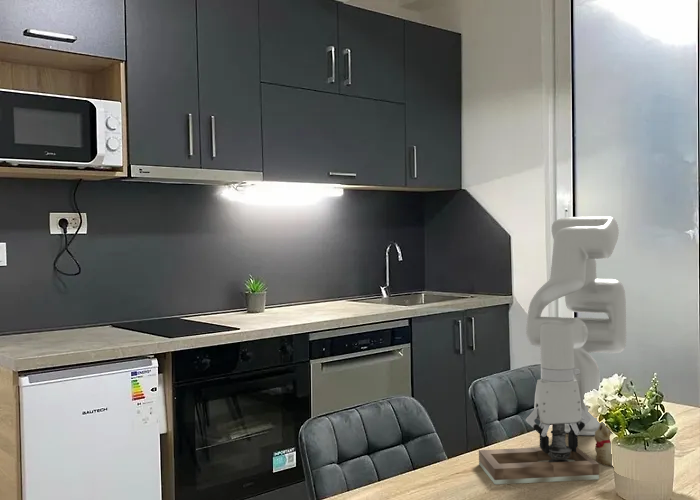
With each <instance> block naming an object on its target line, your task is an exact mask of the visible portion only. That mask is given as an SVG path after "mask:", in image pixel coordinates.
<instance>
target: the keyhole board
mask: <svg viewBox="0 0 700 500" xmlns="http://www.w3.org/2000/svg"><path fill="white" fill-rule="evenodd" d="M551 459H552V458H551V457H550V456H549V455H548V453H547V454H546V453H545V452H544V451H542V449H541V448H540V446H539V447H517V448H499V449H494V448H493V449H479V450H478V464H479V466H480V467H481V469H482V470H483V472H484V473H485V474H486V475H487V477H488V478H489V479H490V480H491V482H492V483H493V484H494V485H510V484H511V485H513V484H528V483H529V484H531V483H532V484H533V483H552V482H570V481H571V482H572V481H590V480H591V481H592V480H600V463H599V462H598V461H597V460H595V459H594V458H592V457H591V456H589V455H588V454H586V453H585V452H584V451H583V450H581V449H580V448H579V447H576V452H573V451H571V454H570V456H569V458H568V459H566V460H568V461H569V462H551V463H550V462H548V461H549V460H551Z"/></svg>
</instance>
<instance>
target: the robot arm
mask: <svg viewBox="0 0 700 500" xmlns="http://www.w3.org/2000/svg"><path fill="white" fill-rule="evenodd" d="M619 231H620V230H619V224H618V222H617V220H616V219H615V218H614V217H612V216H569V217H562V218H559V219H556V220H555V221H553V222H552V224H551V236H552V238H553V247H552V255H551V256H552V257H551V265H550V274H549V275H550V276H549V279H548V280H547V281H546V282H545V283H544V284H543V285H541V287H539V289H538V290H537V291H536V293H535V294H534V295H533V297H532V299H531V300H530V303H529V304H528V305H529V306H528V313H527V319H526V328H525V330H526V332H525V334H526V339H527V341H528V343H529V344H530V345H531V346H533V347H534V348H540V379H537V380H536V381H537V382H536V385H535V393H534V405H533V407H534V408H533V410H532V411H531V412H530V414H529V415H528V416H527V417H526V418H525V422H526V423H527V424H528V425H530V427H531V428H532V429H534V430H535V431H536V432H537V434H539V447H540V448H541V449H542V451H544V452H545V453H546V454H547V453H549V445H550V437H549V436H548V431H549V429H550V427H551V425H552V424H565V432H566V434H567V437H568V439H567V440H568V441H567V444H568V445H567V446H569V447H571V448H572V451H573V452H576V447H577V448H579V443H578V440H579V439H578V438H579V437H578V436H595V431H597V430H598V429H599V426H600V423H599V422H598V421H597V418H594V417H593V416H592V415H591V414H590V413H589V412H588V408H587V407H586V406H585V405H584V403H583V398H584V394H585V393H587V392H589V391H590V390H592V389H598V388H599V385H601V384H600V368H599V365H598V363H597V361H596V359H595V358H594V357H593V356H592V355H591V354H590V353H593V354H594V353H601V354H605V353H606V354H619V353H622V352H623V351H624V350H625V349H626V346H627V345H626V344H627V308H626V307H627V306H626V303H627V302H626V291H625V287H624V285H623V283H622V282H621V281H620V280H617V279H613V278H598V277H597V261H596V260H597V259H599V260H604V259H609V258H610V257H611V256H612V254H613V253H614V250H615V248H616V245H617V242H618V239H619ZM563 297H564V302H565V307H566V308H567V309H568V311H570V312H574V313H581V314H582V313H585V314H604V315H605V314H606V316H607V317H608V318H604V317H603V318H602V317H601V318H600V317H581V316H580V317H561V316H542V312H543V311H544V309H545V308H546V307H547V306H549V305H550V303H552V302H554V301H556V300H558V299H562V298H563ZM535 420H537V421H540V423H539V424H537V423H536V422H535Z"/></svg>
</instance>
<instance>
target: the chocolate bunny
mask: <svg viewBox="0 0 700 500" xmlns="http://www.w3.org/2000/svg"><path fill="white" fill-rule="evenodd" d="M610 436H611V429H610V430H609V429H608V428H607V427H606V426H605V424H604V423H603V422H601V423H600V426H599V429H598V430H597V431H595V435H594V440H595V447H594V451H595V452H596V456H595V459H596V460H595V461H596V462H597V463H598V464H601V465H603V466H608V467H613V466H612V454H611V444H612V441H611V438H610Z"/></svg>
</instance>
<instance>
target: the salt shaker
mask: <svg viewBox="0 0 700 500" xmlns="http://www.w3.org/2000/svg"><path fill="white" fill-rule="evenodd" d="M551 425H552V426H551V427H552V428H551V429H552V430H551V431H550V433H551V438H552V439H551V444H549V453H548V455H549V456H550V457H551V458H552V459H551V460H549V461H548V462H550V463H551V462H569V461H568V460H566V459H568V458H569V456H570V454H571V451H572V448H571V447H569V446H568V445H567V443H566V434H567V433H566V432H565V424H551Z"/></svg>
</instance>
